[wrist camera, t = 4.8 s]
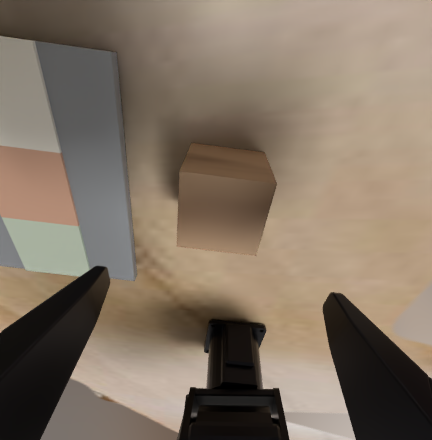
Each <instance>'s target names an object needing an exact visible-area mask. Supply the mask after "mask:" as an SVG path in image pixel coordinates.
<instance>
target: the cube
mask: <svg viewBox="0 0 432 440" xmlns="http://www.w3.org/2000/svg"><path fill="white" fill-rule="evenodd" d="M276 185H277V183H276V180H275V178H274V175H273V173H272V170H271V167H270V165H269V162H268V160H267V157H266V155H265V152H257V151H249V150H242V149H234V148H227V147H219V146H212V145H204V144H197V143H191V145H190V148H189V150H188V152H187V155H186V157H185V159H184V162H183V164H182V166H181V169H180V171H179V197H178V224H177V247H185V248H193V249H202V250H210V251H219V252H227V253H236V254H244V255H253V256H256V255H257V251H258V248H259V244H260V241H261V237H262V234H263V230H264V227H265V223H266V220H267V217H268V213H269V210H270V206H271V203H272V199H273V196H274V192H275V189H276Z"/></svg>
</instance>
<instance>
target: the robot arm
mask: <svg viewBox="0 0 432 440" xmlns="http://www.w3.org/2000/svg"><path fill="white" fill-rule="evenodd" d="M109 285H110V278H109V272H108V268H107V267H106V266H94V267H93V268H92V269H90V270H89V271H87V272H86V273H84V274H83V275H81V276H80V277H79V278H77V279H76V280H74V281H73V282H71V283H70V284H69V285H67V286H66V287H64V288H63V289H61V290H60V291H59V292H57V293H56V294H54V295H53V296H51V297H50V298H49V299H47V300H46V301H44V302H43V303H41V304H40V305H38V306H37V307H36V308H34V309H33V310H31V311H30V312H28V313H27V314H26V315H24V316H23V317H21V318H20V319H18V320H17V321H16V322H14V323H13V324H11V325H10V326H8V327H7V328H5V329H4V330H3V331H2V332H1V333H0V440H40V439H41V437H42V435H43V433H44V431H45V429H46V426H47V424H48V422H49V420H50V418H51V416H52V414H53V412H54V410H55V407H56V406H57V403H58V402H59V399H60V397H61V395H62V393H63V391H64V389H65V387H66V385H67V383H68V381H69V379H70V377H71V375H72V372H73V370H74V368H75V366H76V364H77V362H78V360H79V358H80V356H81V354H82V352H83V350H84V348H85V345H86V343H87V341H88V339H89V337H90V335H91V333H92V331H93V329H94V327H95V324H96V322H97V319H98V317H99V314H100V311H101V308H102V306H103V303H104V300H105V297H106V294H107V291H108V289H109ZM323 314H324V320H325V326H326V331H327V337H328V342H329V347H330V351H331V355H332V358H333V362H334V365H335V368H336V372H337V375H338V379H339V382H340V386H341V389H342V393H343V396H344V400H345V403H346V407H347V410H348V414H349V417H350V420H351V424H352V427H353V431H354V434H355V438H356V440H432V379H431V378H430V377H428V375H427V374H426V373H425V372H424V371H423V370H422V369H421V368H420V367H419V366H418V365H417V364H416V363H415V362H413V361H412V360H411V359H410V358H409V357H408V356H407V355H406V354H405V353H404V352H403V351H402V350H401V349H400V348H399V347H398V346H397V345H396V344H395V343H393V342H392V341H391V340H390V339H389V338H388V337H387V336H386V335H385V334H384V333H383V332H382V331H381V330H380V329H379V328H378V327H377V326H376V325H375V324H373V323H372V322H371V321H370V320H369V319H368V318H367V317H366V316H365V315H364V314H363V313H362V312H361V311H360V310H359V309H358V308H357V307H356V306H355V305H353V304H352V303H351V302H350V301H349V300H348V299H347V298H346V297H345V296H344V295H343V294H341V293H334V292H332V293H330V294H329V296H328V297H327V299H326V301H325V303H324V304H323ZM265 333H266V327H265V326H264V325H256V324H246V323H237V322H228V321H219V320H210V321H209V325H208V330H207V336H206V342H205V347H204V352H205V353H209V358H208V374H207V389H203V388H196V387H190V392H189V394H188V395H186V401H185V409H184V415H183V419H182V423H181V426H180V430H179V434H178V437H177V440H289V435H288V430H287V425H286V420H285V416H284V411H283V406H282V401H281V396H280V391H279V388H273V389H263V385H262V375H261V366H260V357H259V347H260V345H261V342H262V340H263V338H264V335H265ZM271 415H272V418H271Z"/></svg>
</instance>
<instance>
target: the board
mask: <svg viewBox="0 0 432 440" xmlns="http://www.w3.org/2000/svg"><path fill="white" fill-rule="evenodd" d="M0 266H6V267H15V268H24V269H26V271H35V272H44V273H53V274H62V275H71V276H81V275H83V274H84V273H86V272H87V271H89V270H90V269H92V268H93V267H94V266H106V267H107V268H108V272H109V278H113V279H122V280H131V281H135V279H136V276H137V268H136V257H135V246H134V235H133V225H132V214H131V203H130V192H129V181H128V170H127V159H126V149H125V138H124V127H123V116H122V105H121V94H120V83H119V73H118V62H117V52H111V51H104V50H98V49H91V48H84V47H77V46H70V45H63V44H56V43H49V42H42V41H35V40H28V39H21V38H14V37H7V36H1V35H0Z"/></svg>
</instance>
